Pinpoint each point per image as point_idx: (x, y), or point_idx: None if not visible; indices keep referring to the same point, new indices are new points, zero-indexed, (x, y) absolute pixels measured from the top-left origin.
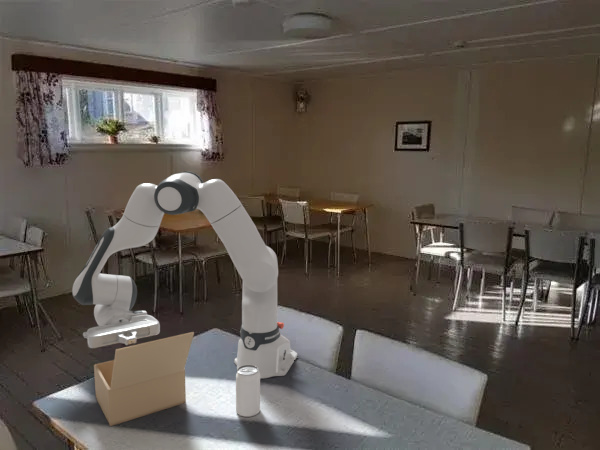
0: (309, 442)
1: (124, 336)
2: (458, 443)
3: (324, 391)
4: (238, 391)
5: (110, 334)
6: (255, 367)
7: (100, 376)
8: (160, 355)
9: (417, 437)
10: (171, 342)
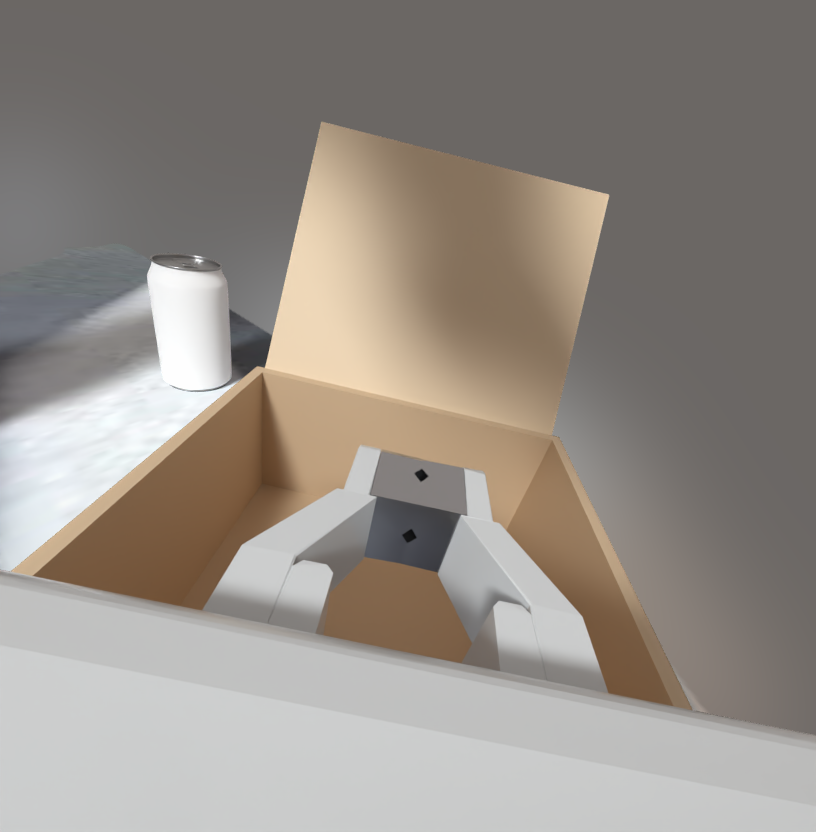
0: (237, 317)
1: (487, 541)
2: (140, 255)
3: (12, 319)
4: (227, 321)
5: (794, 732)
6: (155, 258)
7: (606, 535)
8: (418, 249)
9: (147, 268)
10: (401, 175)
